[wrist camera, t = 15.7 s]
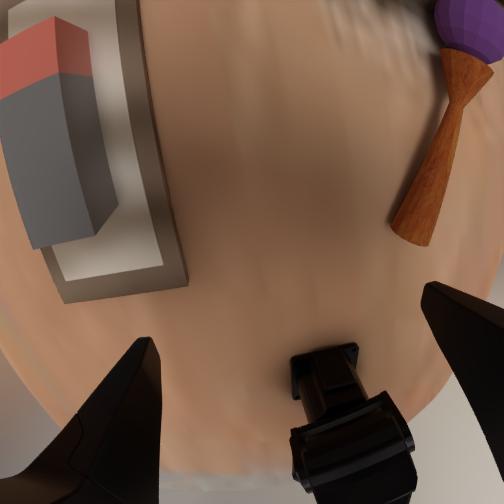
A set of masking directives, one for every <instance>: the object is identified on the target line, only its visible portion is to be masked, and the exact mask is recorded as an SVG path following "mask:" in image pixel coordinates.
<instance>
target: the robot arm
mask: <svg viewBox="0 0 504 504" xmlns="http://www.w3.org/2000/svg"><path fill="white" fill-rule="evenodd" d="M421 309H422V311H423V314H424V316H425V318H426V320H427V322H428V324H429V326H430V328H431V331H432V333H433V335H434V337H435V339H436V341H437V343H438V345H439V347H440V349H441V351H442V352H443V354H444V356H445V358H446V360H447V361H448V363H449V365H450V367H451V369H452V371H453V372H454V374H455V376H456V378H457V380H458V381H459V384H460V386H461V387H462V389H463V391H464V393H465V395H466V397H467V399H468V401H469V403H470V405H471V407H472V409H473V411H474V413H475V416H476V418H477V420H478V422H479V424H480V426H481V429H482V431H483V433H484V435H485V438H486V440H487V442H488V445H489V447H490V449H491V452H492V454H493V457H494V459H495V462H496V464H497V467H498V469H499V472H500V474H501V477H502V480H503V482H504V309H503V308H500V307H498V306H496V305H494V304H491V303H489V302H486V301H484V300H482V299H479V298H477V297H474V296H472V295H470V294H467V293H465V292H462V291H460V290H457V289H455V288H452V287H450V286H447V285H445V284H442V283H440V282H437V281H433V282H429V283H426V284H425V286H424V289H423V294H422V299H421ZM358 352H359V347H358V345H357V344H356V343H353V344H349V345H345V346H341V347H337V348H333V349H328V350H324V351H320V352H315V353H311V354H306V355H302V356H297V357H293V358H292V359H291V361H290V364H291V384H292V397H293V400H302V404H303V407H304V410H305V414H306V417H307V420H308V424H307V425H304V426H301V427H298V428H297V427H296V428H293V429H290V431H291V437H290V439H289V441H290V446H291V450H292V456H293V463H292V476H293V479H294V480H296V481H298V482H300V483H301V485H302V486H303V488H304V489H305V491H306V492H307V493H312V492H313V494H314V496H315V499H316V502H317V504H409V502H410V498H411V494H412V492H414V491H415V490H416V485H417V479H418V477H417V472H416V469H415V466H414V463H413V460H412V457H411V455H410V453H411V452H413V451H415V445H414V440H413V437H412V434H411V432H410V430H409V427H408V425H407V423H406V421H405V419H404V418H403V416H402V415H401V413H400V411H399V410H398V408H397V407H396V405H395V404H394V402H393V401H392V399H391V398H390V396H389V394H388V393H387V391H386V390H385V391H383V392H381V393H380V394H379V395H377V396H375V397H372V398H370V399H369V398H368V396H367V393H366V391H365V389H364V387H363V385H362V383H361V381H360V379H359V377H358V375H357V373H356V364H357V358H358ZM77 413H78V414H77ZM77 413H76V414H75V415H74V416H73V418H72V419H71V420H70V421H69V422H68V424H67V425H66V426H65V427H64V429H63V430H62V431H61V432H60V433H59V434H58V435H57V437H56V438H55V439H54V440H53V441H52V442H51V443H50V444H49V445H48V446H47V447H46V448H45V449H44V450H43V451H42V453H40V455H39V456H38V457H37V458H36V459H35V460H34V461H33V462H32V463H31V464H30V465H29V466H28V467H27V468H26V469H25V470H23V471H22V472H21V473H19V474H17V475H15V476H12V477H8V478H3V479H0V504H159V460H160V436H161V419H162V385H161V361H160V356H159V353H158V351H157V349H156V346H155V344H154V342H153V339H152V338H151V337H140V338H138V339H136V341H135V342H134V343H133V344H132V345H131V347H130V348H129V349H128V350H127V351H126V353H125V354H124V355H123V356H122V357H121V359H120V360H119V361H118V362H117V363H116V365H115V366H114V367H113V368H112V369H111V371H110V372H109V373H108V374H107V376H106V377H105V378H104V379H103V380H102V382H101V383H100V384H99V385H98V387H97V388H96V389H95V390H94V391H93V393H92V394H91V395H90V396H89V398H88V399H87V400H86V401H85V403H84V404H83V405H82V406H81V408H80V409H79V410H78V411H77Z"/></svg>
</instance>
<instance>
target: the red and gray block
mask: <svg viewBox="0 0 504 504" xmlns="http://www.w3.org/2000/svg"><path fill="white" fill-rule="evenodd" d="M0 138H1V143H2V148H3V153H4V157H5V161H6V166H7V170H8V174H9V177H10V181H11V185H12V188H13V192H14V195H15V199H16V202H17V205H18V208H19V211H20V214H21V217H22V220H23V223H24V226H25V229H26V232H27V235H28V237H29V240H30V243H31V245H32V248H33V250H34V249H39V248H43V247H47V246H52V245H56V244H60V243H65V242H69V241H74V240H79V239H83V238H88V237H93V236H96V234H97V233H98V232H99V230H100V229H101V228H102V226H103V225H104V224H105V222H106V221H107V220H108V218H109V217H110V216H111V214H112V213H113V212H114V210H115V209H116V208H117V206H118V205H119V204H118V201H117V197H116V193H115V189H114V185H113V181H112V176H111V172H110V168H109V164H108V159H107V155H106V150H105V145H104V140H103V135H102V130H101V125H100V119H99V114H98V108H97V102H96V96H95V89H94V82H93V75H92V67H91V59H90V50H89V40H88V31H86V30H84V29H82V28H80V27H78V26H76V25H74V24H71V23H69V22H67V21H65V20H63V19H61V18H58V17H56V16H53V17H50V18H48V19H46V20H44V21H42V22H40V23H38V24H36V25H34V26H32V27H30V28H28V29H26V30H24V31H22V32H20V33H19V34H17V35H15V36H13V37H11V38H10V39H8V40H6V41H4V42H3V43H1V44H0Z"/></svg>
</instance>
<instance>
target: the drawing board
mask: <svg viewBox="0 0 504 504" xmlns="http://www.w3.org/2000/svg"><path fill="white" fill-rule="evenodd" d="M53 16H56V17H58V18H61V19H63V20H65V21H67V22H69V23H71V24H74V25H76V26H78V27H80V28H82V29H84V30H86V31H88V40H89V50H90V59H91V67H92V75H93V82H94V89H95V96H96V102H97V108H98V114H99V119H100V125H101V130H102V135H103V140H104V145H105V150H106V155H107V159H108V164H109V168H110V172H111V176H112V181H113V185H114V189H115V193H116V197H117V201H118V204H119V205H118V206H117V208H116V209H115V210H114V212H113V213H112V214H111V216H110V217H109V218H108V220H107V221H106V222H105V224H104V225H103V226H102V228H101V229H100V230H99V232H98V233H97V234H96V236H93V237H88V238H83V239H79V240H74V241H69V242H65V243H60V244H56V245H52V246H47V247H43V248H40V249H41V252H42V254H43V257H44V259H45V262H46V264H47V267H48V269H49V271H50V274H51V276H52V278H53V280H54V283H55V285H56V287H57V289H58V292H59V294H60V296H61V298H62V300H63V302H64V304H69V303H76V302H84V301H91V300H98V299H105V298H112V297H119V296H126V295H133V294H140V293H147V292H153V291H160V290H166V289H173V288H179V287H186V286H188V282H189V277H188V273H187V269H186V265H185V261H184V257H183V253H182V249H181V245H180V241H179V237H178V232H177V228H176V224H175V219H174V215H173V211H172V206H171V201H170V197H169V192H168V187H167V183H166V178H165V173H164V168H163V163H162V158H161V152H160V147H159V142H158V136H157V131H156V125H155V119H154V113H153V107H152V101H151V94H150V88H149V81H148V74H147V67H146V60H145V52H144V44H143V35H142V26H141V17H140V7H139V0H0V44H1V43H3V42H4V41H6V40H8V39H10V38H11V37H13V36H15V35H17V34H19V33H20V32H22V31H24V30H26V29H28V28H30V27H32V26H34V25H36V24H38V23H40V22H42V21H44V20H46V19H48V18H50V17H53Z"/></svg>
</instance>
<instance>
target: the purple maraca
mask: <svg viewBox="0 0 504 504" xmlns="http://www.w3.org/2000/svg"><path fill="white" fill-rule="evenodd" d="M434 18H435V22H436V26H437V30H438V34H439V36H440V37H441V38H442V40H443V41H444V43H445V44H446V46H447V47H448V48H442V49H440V50H439V51H440V55H441V59H442V64H443V69H444V73H445V78H446V84H447V89H448V95H449V101H450V102H449V104H448V107H447V109H446V112H445V114H444V117H443V119H442V121H441V124H440V126H439V128H438V131H437V133H436V135H435V137H434V140H433V142H432V144H431V146H430V148H429V151H428V153H427V155H426V157H425V159H424V161H423V163H422V165H421V167H420V170H419V172H418V174H417V176H416V178H415V180H414V182H413V184H412V186H411V188H410V190H409V192H408V194H407V195H406V197H405V199H404V201H403V203H402V205H401V207H400V209H399V211H398V213H397V214H396V216H395V218H394V220H393V222H392V224H391V225H390V226H391V229H392V230H393V231H394V232H395V233H396V234H397V235H399V236H400V237H401V238H403V239H405V240H407V241H408V242H410V243H413V244H416V245H418V246H423V247H426V246H428V245H429V242H430V240H431V237H432V234H433V231H434V228H435V225H436V221H437V218H438V215H439V212H440V208H441V205H442V202H443V198H444V195H445V191H446V187H447V183H448V180H449V176H450V172H451V168H452V163H453V159H454V155H455V150H456V146H457V141H458V136H459V130H460V125H461V119H462V113H463V108H464V107H465V106H466V105H467V104H468V103H469V102H470V100H471V99H472V98H473V97H474V96H475V95H476V94H477V93H478V92H479V90H480V89H481V88H482V87H483V86H484V85H485V84H486V83H487V81H488V80H489V79H490V78H491V77H492V76H493V74H494V72H493V71H492V69H491V68H490V67H489V66H488V65H487V64H491V63H493V62H496V61H499V60H501V59H502V58H503V57H504V11H503V10H502V9H501V8H500V7H499V5H498V4H497V3H496V2H495V1H494V0H438V1H437V2H436V6H435V11H434Z"/></svg>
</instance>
